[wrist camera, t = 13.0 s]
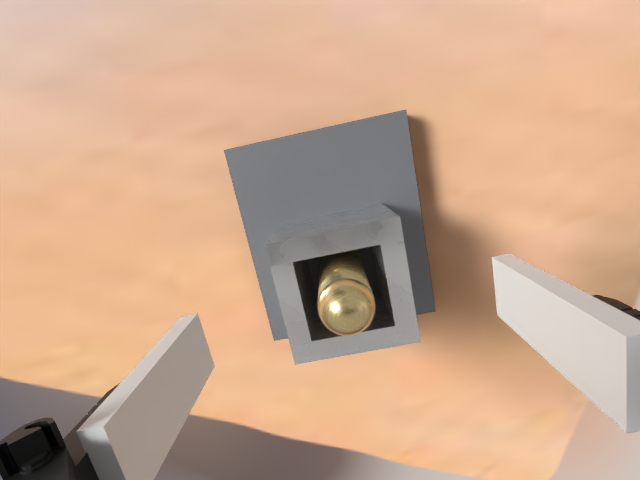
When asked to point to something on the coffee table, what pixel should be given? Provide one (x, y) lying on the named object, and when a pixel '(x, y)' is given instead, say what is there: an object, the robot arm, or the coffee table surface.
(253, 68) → the coffee table surface
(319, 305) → the pin
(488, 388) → the coffee table surface
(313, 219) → the steel collar
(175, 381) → the robot arm
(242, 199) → the keeper plate
